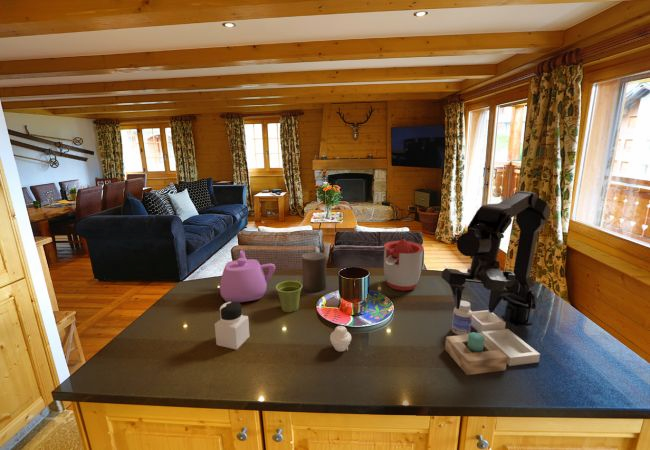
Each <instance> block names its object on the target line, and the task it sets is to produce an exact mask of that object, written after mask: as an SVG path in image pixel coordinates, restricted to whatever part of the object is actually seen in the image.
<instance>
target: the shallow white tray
mask: <svg viewBox="0 0 650 450" xmlns="http://www.w3.org/2000/svg"><path fill="white" fill-rule="evenodd" d="M481 333H482V334H483V335H484V336H485V337H486V338H487V339H488V340H490V341H491V342H492V343H493V344H494V345H495V346H496V347H497V348H498V349H500V350H501V351H502V352H503V353H504V354H505V355H506V356H507V364H506V365H507V366H508V367H511V366H512V367H513V366H520V365H526V364H528V365H529V364H534V363H535V364H536V363H539V362H540V356H541V353H540V352H538V351H537V350H536V349H534V348H533V347H532V346H531V345H529V344H528V343H526V342H525V341H524V340H523V339H522V338H521V337H520V336H518V335H517V334H515V333H514V332H512V330H510V329H509V328H505V329H502V330H493V331H484V332H481Z"/></svg>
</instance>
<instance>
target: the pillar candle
mask: <svg viewBox="0 0 650 450" xmlns="http://www.w3.org/2000/svg"><path fill="white" fill-rule="evenodd" d="M301 258H302V259H301V265H302V267H301V268H302V269H301V272H302V274H301V275H302V288H303V290H304V291H305V292H306V291H307V292H311V293H318V292H322V291H325V290H326V289H327V255H326V254H325V253H323V252H319V251H317V252H316V251H312V252H311V251H310V252H306V253H303V254H301Z"/></svg>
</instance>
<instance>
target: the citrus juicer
mask: <svg viewBox="0 0 650 450" xmlns="http://www.w3.org/2000/svg"><path fill="white" fill-rule="evenodd" d="M383 248H384V249H383V251H384V252H383V274H384V278H385V282H386V284H387V286H388V287H389V288H391V289H394V290H397V291H402V292H406V291H411V290H414V289H415V288H416V287H417V286H418V283H419V280H420V277H421V274H422V273H421V272H422V266H423V253H424V252H423V251H424V246H423V245H422V244H420V243H417V242H415V241H408V240H407V239H404V238H403V239H401V240H393V241H387V242H386V243H384V245H383Z"/></svg>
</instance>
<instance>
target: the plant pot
mask: <svg viewBox="0 0 650 450" xmlns="http://www.w3.org/2000/svg"><path fill="white" fill-rule="evenodd" d="M302 288H303V283H301V282H299V281H296V280H286V281H281V282H279V283H277V284H276V285H275V290H276V291H277V293H278V297H279V302H280V307H281V310H282V311H283V312H286V313H291V312H297V311H298V310H299V308H300V299H301V298H300V297H301V291H302Z"/></svg>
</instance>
